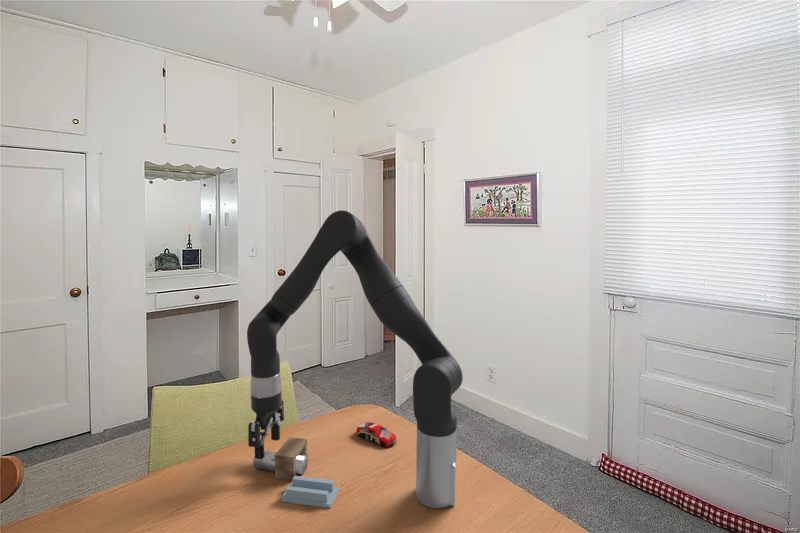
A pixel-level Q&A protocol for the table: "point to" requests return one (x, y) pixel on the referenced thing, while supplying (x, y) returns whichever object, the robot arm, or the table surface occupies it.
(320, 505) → the cradle
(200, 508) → the table surface
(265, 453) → the axle
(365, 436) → the race car
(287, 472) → the brown bridge block
